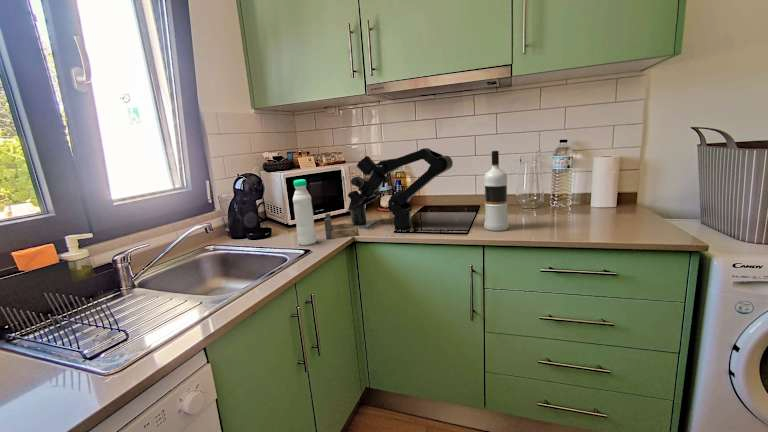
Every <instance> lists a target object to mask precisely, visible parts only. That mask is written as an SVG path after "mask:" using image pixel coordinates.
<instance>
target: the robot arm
mask: <svg viewBox="0 0 768 432" xmlns="http://www.w3.org/2000/svg"><path fill="white" fill-rule="evenodd" d="M421 160H423V161H425V162H426V163H427V164H428V165H429V167H428V168H427V170H426V171H425V172H424V173H423V174H422V175H421V176H419V177H418V178H416V180H415V181H414V182H413V183H411V185H409V186H407V188H406V189H404V190H403V189H399V190H397V191H395V193H393V195H391V196H389V199H388V202H387V203H388V207H389V209H390V212H391V213H392V215H393V225H394V226H393V227H394V230H398V229H399V230H406V229H407V230H408V229H409V230H410V229H411V228H412V227H413V223H412V217H411V216H412V215H411V214H412V213H411V212H413V208H414V207H413V205H412V204H411V203H409V202H411V199H412V197H414V196H415V195H416V194H418V193H419V192H420V190H422V189H423V188H424V187H425V186H427V185H428V184H429V183H431V182H432V180H433V179H435V178H436V177H437V176H439V175H442V174H444V173H445V172H447V171H448V170H450V169H452V167H453V159H452V157H450V156H449V155H443V154H441V153H439V152H437V151H434V150H432V149H430V148H428V147H426V148H420V149H418V150H417V151H413V152H410V153H408V154H404V155H403V156H402V155H401V156H400V157H396V158H390V159H383V160H380V161H379V162H378V163H375V162H374V161H373V160H372V158H371V157H370V156H369V155H366V156H365V157H363V158H362V159H361V160H360V161H358V162H357V164H356V168H358V169H359V170H360V172H362V174H363V175H364V176H365V177H367V176H369V178H368V179H367V180H366V179H364V178H363V177H361V176H354V177H352V178H351V179H350V184H351V186H355V187H357V190H352V191H350V192H348V194H347V196H348V198H349V199H350V202H349V205H348V210H349V211H350V210H352V209H354V208H355V207H357V206H359V205H361V203H363V204H364V205H365V206H366V205H367V204H369V203H371V202H372V201H375V200H376V199H379V198H380V196H381V191H380V186H381V185H382V184H383V183H384V184H387V183H390V179H389V178H390V177H389V175H386V174H392V173H394V172H395V171H397V170H398V169H400V168H401V167H404V166H407V165H410V164H412V163H416V162H418V161H421Z"/></svg>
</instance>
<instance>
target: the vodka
mask: <svg viewBox="0 0 768 432" xmlns="http://www.w3.org/2000/svg"><path fill="white" fill-rule="evenodd" d="M499 152H500V151H499V150H492V151H491V169H489V170H488V171H487V172H485V174H484V177H483V178H484V179H483V181H484V200H485V201H484V202H485V203H484V208H485V215H484V216H485V218H484V223H483V225H484V229H485V230H487V231H491V232H502V231H506V230H508V229H509V227H510V222H509V218H508V192H507V191H508V187H507V186H508V174H507V173H506V171H504V170H502V169H501V168H500V158H499V157H500V156H499V155H500V153H499Z"/></svg>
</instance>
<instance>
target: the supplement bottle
mask: <svg viewBox="0 0 768 432" xmlns="http://www.w3.org/2000/svg"><path fill="white" fill-rule="evenodd" d="M349 211H350V220H351V221H352V223H353V224H354V225H355V226H358V225H364V224H366V221H367V212H366V204H365V205H364V204H363V203H361V205H359V206H357V207H355V208H354V209H352V210H349ZM351 221H350V222H351Z"/></svg>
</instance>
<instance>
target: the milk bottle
mask: <svg viewBox="0 0 768 432" xmlns="http://www.w3.org/2000/svg"><path fill="white" fill-rule="evenodd" d="M307 183H308V182H307V179H303V178H302V179H294V180H293V186H294V189H295V190H294V193H293V197H292V203H293V213H294V219H295V220H294V221H295V225H296V234H297V244H298V245H301V246H312V245H314V244H315V243H316V242H317V236H316V226H315V220H314V217H315V216H314V209H313V203H312V196H311V194H310V193H309V191H308V189H307Z"/></svg>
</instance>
